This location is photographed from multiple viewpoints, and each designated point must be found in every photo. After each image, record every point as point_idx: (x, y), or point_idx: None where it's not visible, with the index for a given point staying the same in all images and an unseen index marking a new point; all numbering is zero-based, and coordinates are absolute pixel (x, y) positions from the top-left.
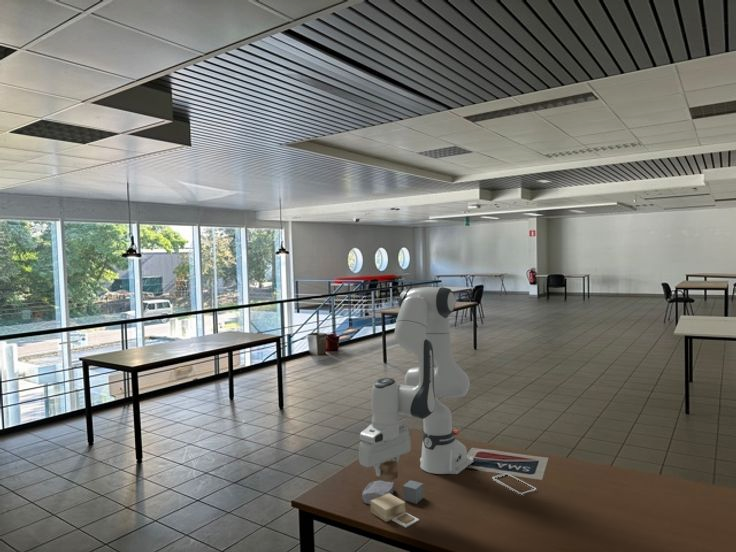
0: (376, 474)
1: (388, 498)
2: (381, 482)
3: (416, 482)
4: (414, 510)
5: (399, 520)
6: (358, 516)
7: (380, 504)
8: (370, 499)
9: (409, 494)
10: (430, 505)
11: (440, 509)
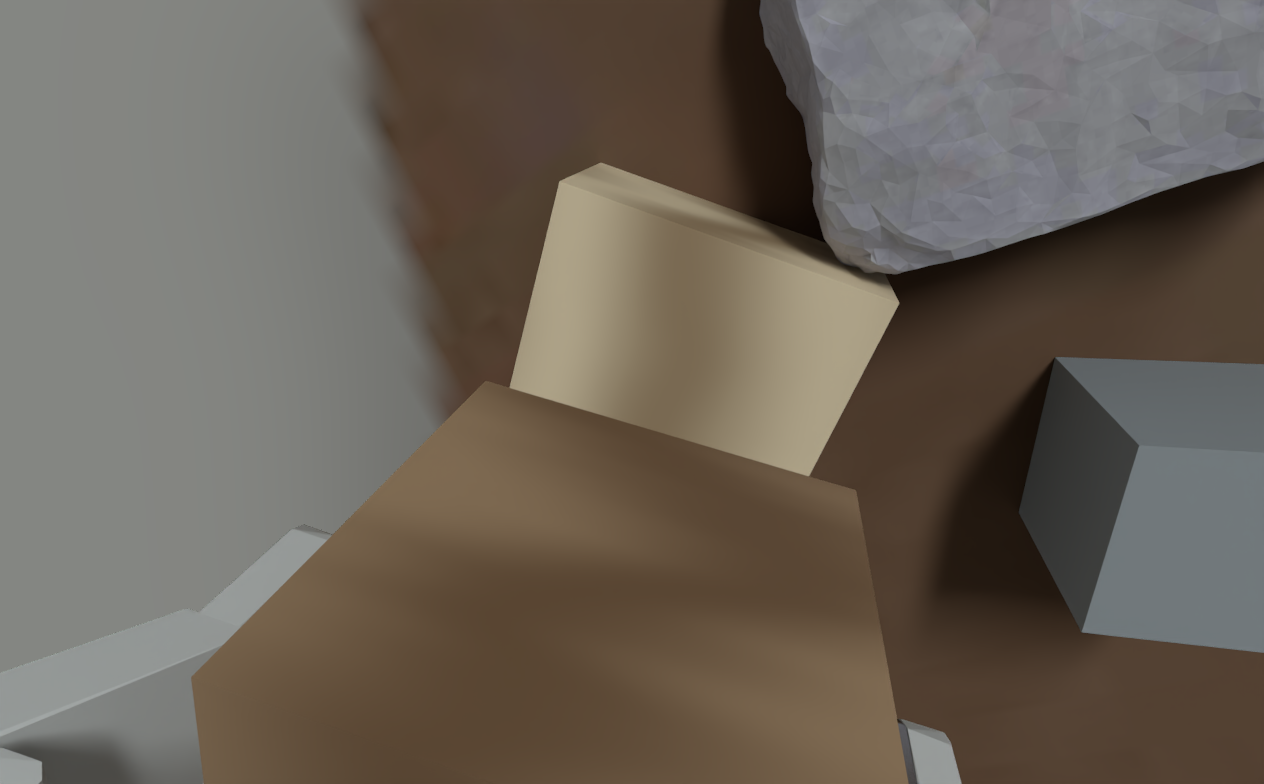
0: (295, 549)
1: (742, 367)
2: None
3: None
4: None
5: None
6: (444, 99)
7: (555, 353)
8: (779, 19)
9: (1067, 485)
10: (1035, 633)
11: (989, 717)
